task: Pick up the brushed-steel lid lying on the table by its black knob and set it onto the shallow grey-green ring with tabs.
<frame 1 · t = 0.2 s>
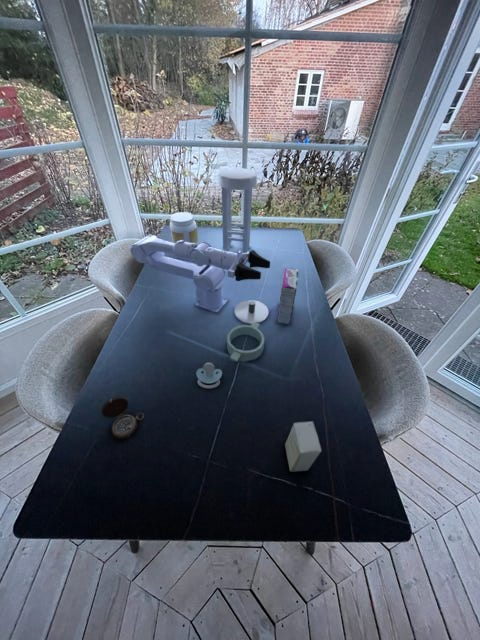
hand: (265, 270, 81), 21 cm above the table, tool horizontal, fingers open, 7 cm apart
lid: (251, 312, 97), point 1 cm above the table
grey-green ring with tabs: (245, 347, 86), on the table
pacifier: (209, 380, 77), on the table
supplement tub: (186, 251, 130), on the table
stool: (236, 251, 130), on the table
cosmetic box: (296, 457, 62), on the table
compass: (128, 422, 67), on the table
candy bar box: (283, 314, 98), on the table
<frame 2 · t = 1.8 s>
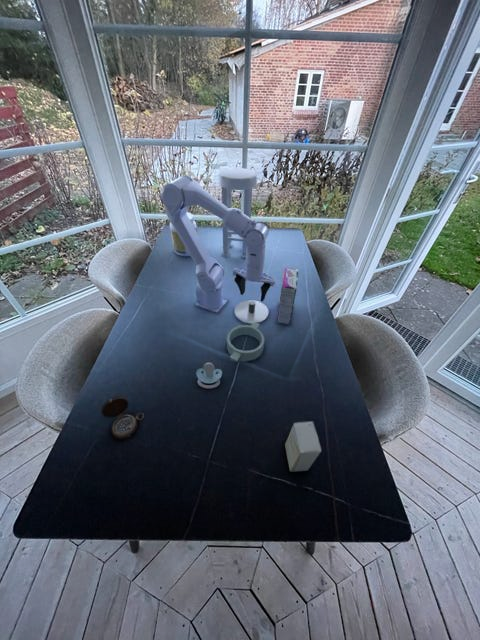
hand: (252, 296, 92), 8 cm above the table, tool pointing down, fingers open, 7 cm apart
nothing on the table moved.
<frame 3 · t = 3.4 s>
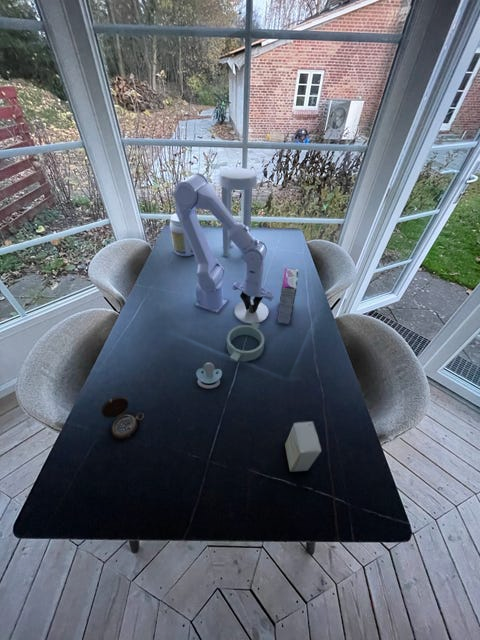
hand: (251, 309, 97), 2 cm above the table, tool pointing down, fingers closed on lid, 2 cm apart
lid: (251, 311, 97), point 1 cm above the table, touching gripper
everything else where it was.
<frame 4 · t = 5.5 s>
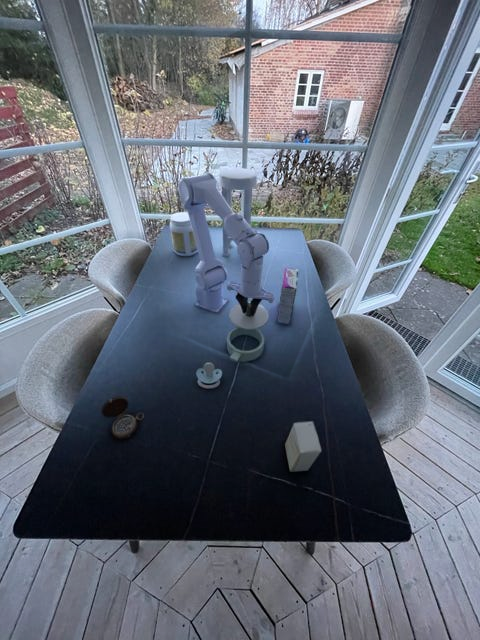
hand: (249, 312, 84), 9 cm above the table, tool pointing down, fingers closed on lid, 2 cm apart
lid: (249, 315, 85), point 8 cm above the table, touching gripper
everything else where it was.
when the fingers open (6 cm above the table, at t = 7.5 s): lid stays where it is, resting on grey-green ring with tabs.
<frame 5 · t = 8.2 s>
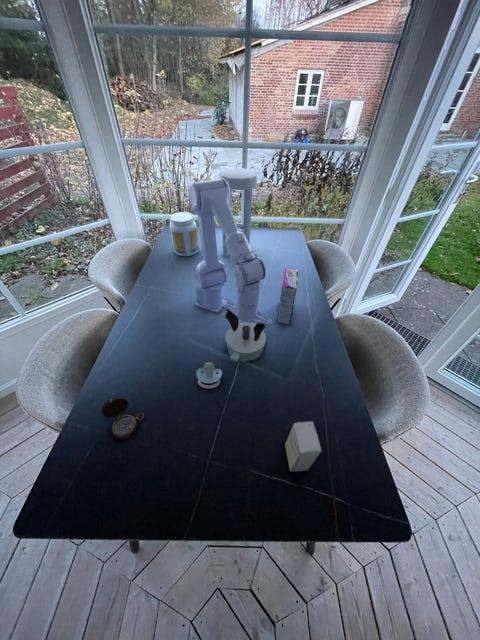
hand: (245, 334, 82), 6 cm above the table, tool pointing down, fingers open, 7 cm apart
lid: (245, 338, 83), point 4 cm above the table, touching grey-green ring with tabs
everything else where it was.
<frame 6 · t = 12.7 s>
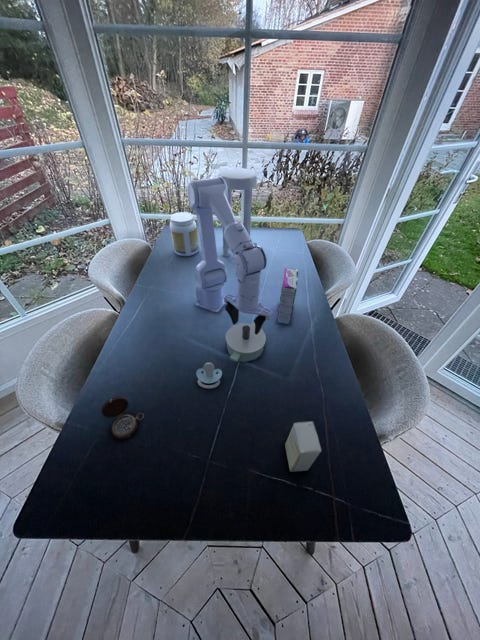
hand: (246, 327, 79), 9 cm above the table, tool pointing down, fingers open, 7 cm apart
nothing on the table moved.
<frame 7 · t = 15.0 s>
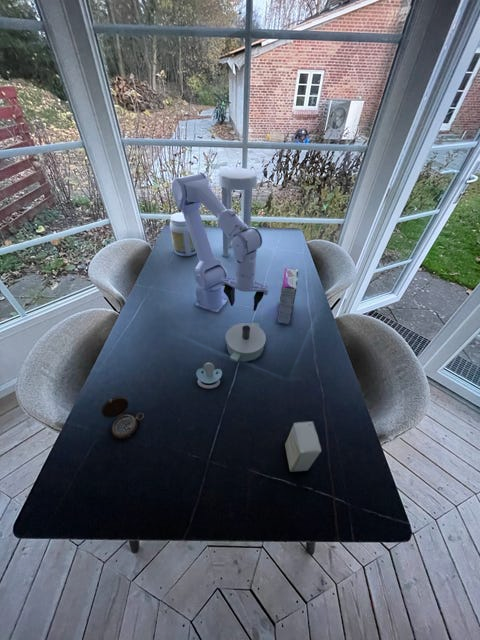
hand: (243, 306, 86), 10 cm above the table, tool pointing down, fingers open, 7 cm apart
nothing on the table moved.
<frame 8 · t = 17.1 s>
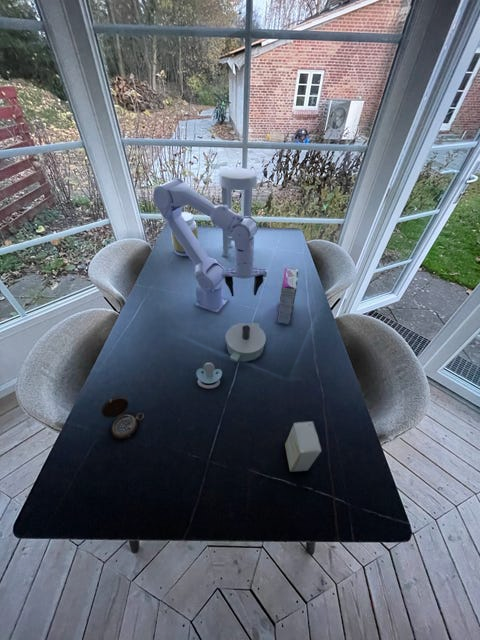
hand: (243, 294, 91), 9 cm above the table, tool pointing down, fingers open, 7 cm apart
nothing on the table moved.
at the end: lid 0.0 cm off-centre on the grey-green ring with tabs, point 4.4 cm above the grey-green ring with tabs's base; lid tilted 0° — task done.
